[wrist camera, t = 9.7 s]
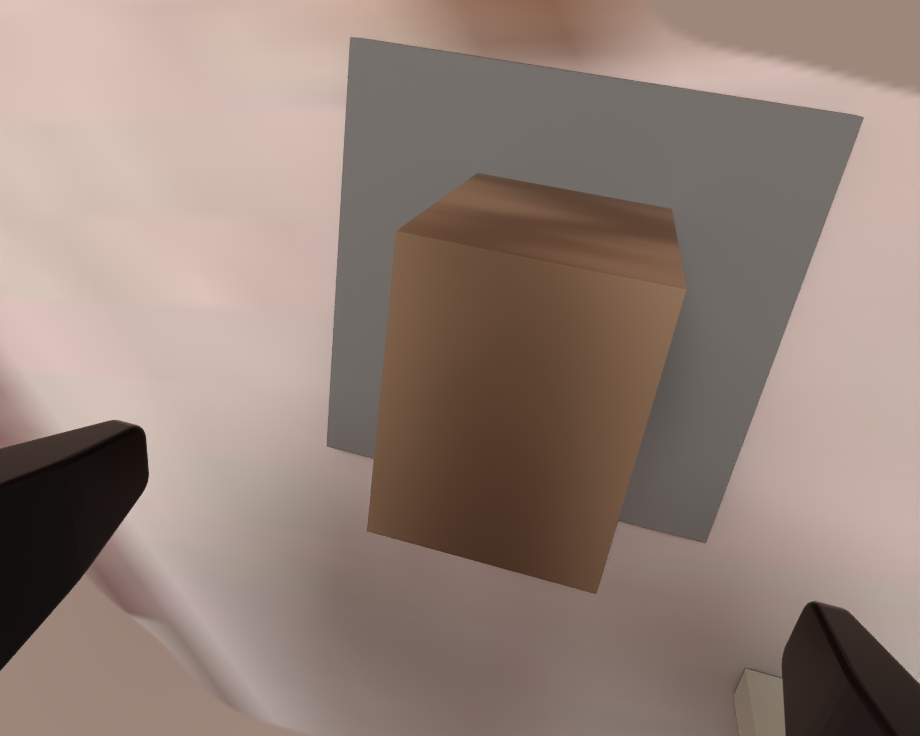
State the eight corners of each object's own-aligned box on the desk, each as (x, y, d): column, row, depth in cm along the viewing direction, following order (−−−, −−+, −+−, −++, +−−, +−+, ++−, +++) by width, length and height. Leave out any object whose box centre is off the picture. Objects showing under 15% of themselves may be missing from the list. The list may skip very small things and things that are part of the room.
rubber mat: (855, 115, 14) (863, 117, 14) (704, 529, 19) (705, 543, 19) (360, 37, 16) (350, 37, 16) (334, 436, 21) (326, 446, 20)
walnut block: (672, 208, 15) (686, 289, 10) (610, 435, 18) (596, 593, 13) (477, 172, 16) (396, 231, 11) (445, 396, 19) (367, 531, 13)
